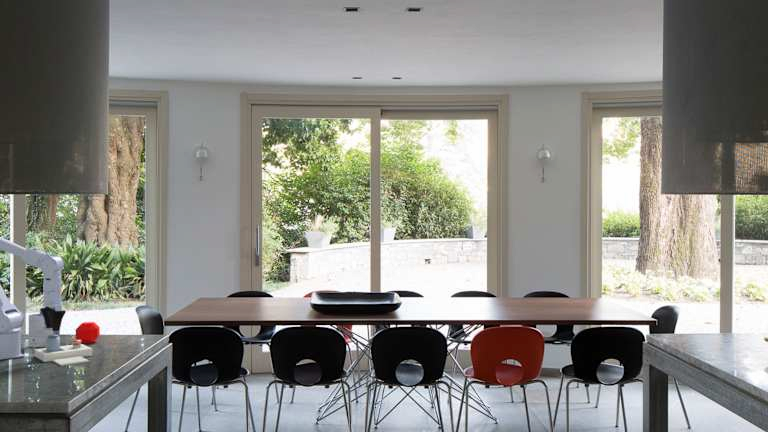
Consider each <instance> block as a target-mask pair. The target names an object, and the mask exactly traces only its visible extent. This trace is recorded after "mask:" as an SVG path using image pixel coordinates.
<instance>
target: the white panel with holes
mask: <svg viewBox="0 0 768 432" xmlns="http://www.w3.org/2000/svg"><path fill="white" fill-rule="evenodd" d="M77 356H81V357H83V358H85V357H92V356H93V348H92V347H90V346H87V345H86V344H84V343H83V344H81V348H75V349H73V344H68V345H60V351H57V352H49V353H46V347H41V348H36V349H35V348H34V357H35V358H37V359H38V360H40V361H42V362H43V363H46V362H47V363H48V362H53V360H54V359H62V358H70V357H77Z"/></svg>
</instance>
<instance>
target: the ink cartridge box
mask: <svg viewBox="0 0 768 432" xmlns="http://www.w3.org/2000/svg"><path fill="white" fill-rule="evenodd" d="M42 308H43V307H41V308H40V309H42ZM60 330H61V329H60ZM60 330H59V331H53V330H52V328H46V325H45V320H44V317H43V314H42V312H41V311H40V310H39V313H33V314H29V315H28V343H27V345H28V348H46V338H47V337H48V335H58V337H60V338H61V334H60V333H61V332H60Z"/></svg>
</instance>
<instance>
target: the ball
mask: <svg viewBox="0 0 768 432" xmlns="http://www.w3.org/2000/svg"><path fill="white" fill-rule="evenodd" d="M100 330H101V329H100V326H99V325H98V324H97V323H96V322H94V321H84V322H82V323H81V324H79V325H78V326H77V327H76V328H75V340H82V343H83V344H93V343H94V342H95V341H96V340H97V339H98V338H99V337H100V336H101V333H100Z"/></svg>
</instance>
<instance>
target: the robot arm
mask: <svg viewBox="0 0 768 432" xmlns="http://www.w3.org/2000/svg"><path fill="white" fill-rule="evenodd" d="M0 251H3V252H6V253H8V254H12V255H14V256H18V257H20V258H22V259H21V260H22V261H23V262H24V263H25V264H28V265H30V266H32V267H34V268H37V269H39V270H40V271H41V272H42V277H43V278H42V279H43V280H42V281H43V303H42V306H43V307H41V308H42V309H41V308H40V309H39V312H40V311H41V312H42V314H43V317H44V320H45V325H46V328H52V330H53V331H59V330H61V326H62V321H63V318H64V317H65V314H66V310H63V307H62V306H64V305H66V302H65V301H62V299H63V298H62V270H64V268H65V260H64V259H63V258H62V257H61V256H60V255H58V254H57V255H52V254H51V253H50V252H44V251H42V250H40V248H39V247H38V246H35V247H28V248H26V247H24V246H21V245H20V244H17V243H15V242H13V241H10V240H8V239H7V238H5V237H3V236H0ZM25 318H26V317H25V315H24V314H23V313H22V312H21V311H20V310H19V309H18V307H17V306H16V305H14V304H13V303H11V302H10V300H9V299H8V296H7V295H6V293H5V290H4V289H3V287H2V285H1V284H0V360H8V359H15V358H22V357H23V358H24V357H25V354H23V353H22V347H21V346H22V343H21V342H22V339H21V338H22V337H21V335H22V334H21V333H22V326H23V325H25Z"/></svg>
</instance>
